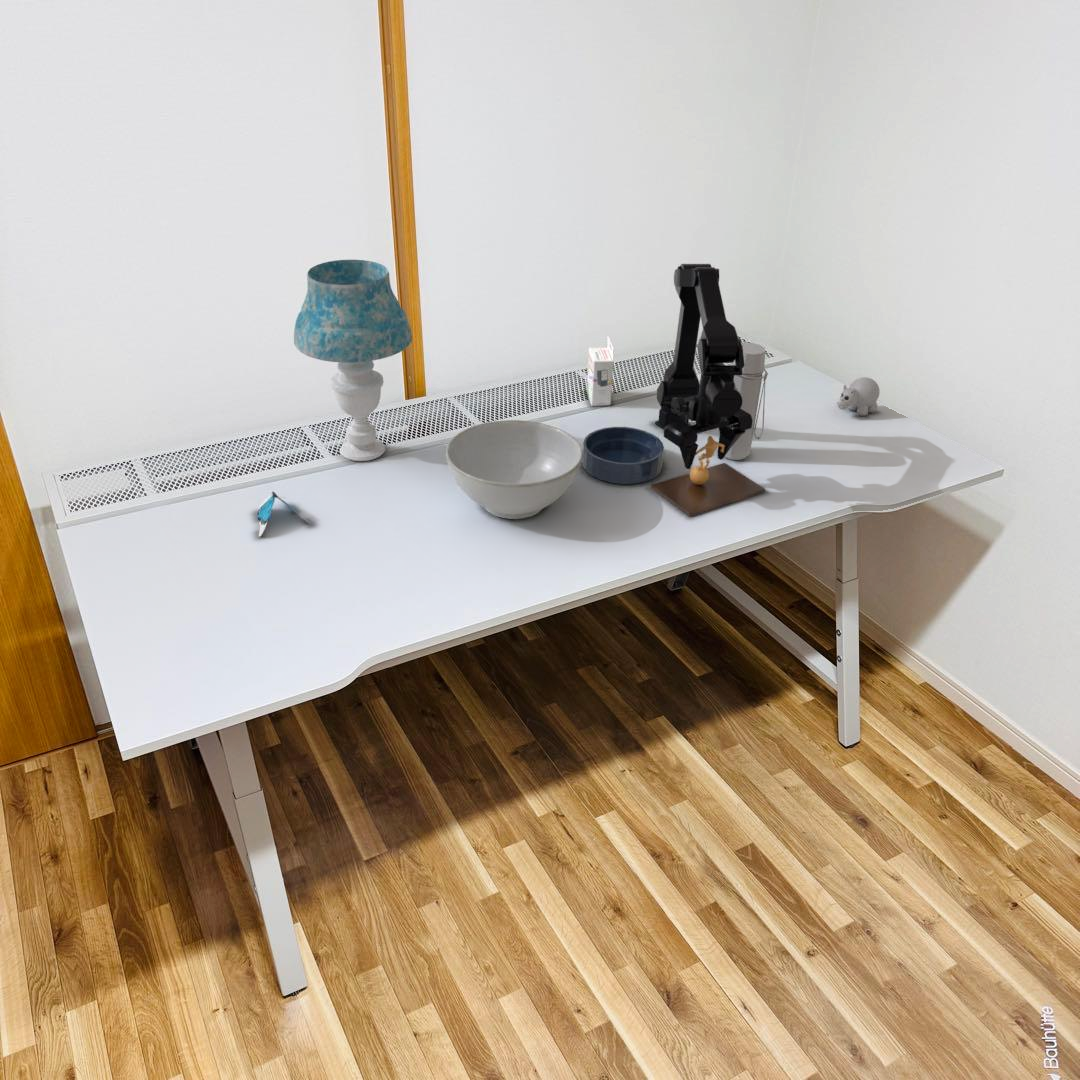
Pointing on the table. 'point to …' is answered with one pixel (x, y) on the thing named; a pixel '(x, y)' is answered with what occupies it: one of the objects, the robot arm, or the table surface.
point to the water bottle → (749, 395)
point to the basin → (622, 455)
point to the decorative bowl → (514, 465)
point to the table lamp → (353, 339)
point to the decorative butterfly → (268, 510)
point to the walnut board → (707, 490)
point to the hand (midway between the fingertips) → (703, 463)
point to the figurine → (700, 473)
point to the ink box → (600, 375)
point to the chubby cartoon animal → (860, 396)
